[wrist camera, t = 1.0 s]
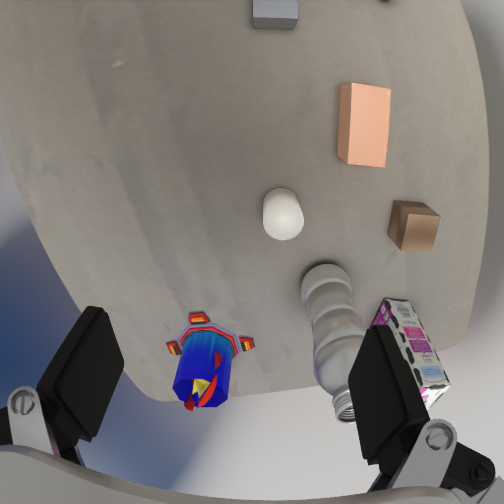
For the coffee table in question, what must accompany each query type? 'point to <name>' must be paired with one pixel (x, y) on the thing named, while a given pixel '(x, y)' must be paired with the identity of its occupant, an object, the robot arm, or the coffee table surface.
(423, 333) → the candy bar box
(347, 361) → the plastic bottle
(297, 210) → the cream cylinder
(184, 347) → the fantasy tower
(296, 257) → the coffee table surface
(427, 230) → the walnut square block
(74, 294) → the coffee table surface
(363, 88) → the terracotta long brick
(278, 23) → the grey short brick
